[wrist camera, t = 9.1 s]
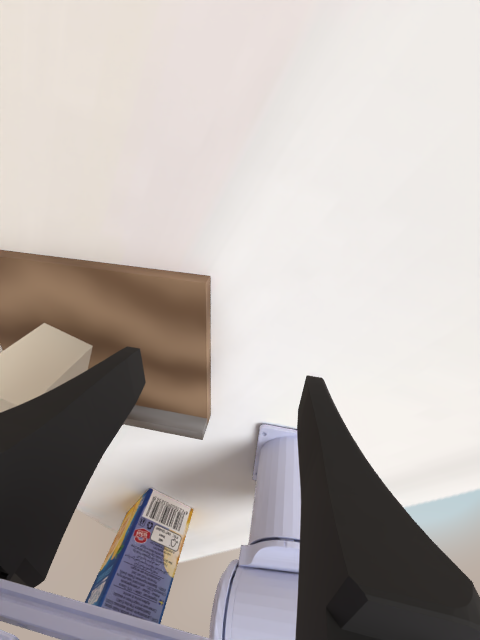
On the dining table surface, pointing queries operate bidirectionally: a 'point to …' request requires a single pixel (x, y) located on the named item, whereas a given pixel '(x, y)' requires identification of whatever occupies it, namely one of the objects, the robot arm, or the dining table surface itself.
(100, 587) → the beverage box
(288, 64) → the dining table surface
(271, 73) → the dining table surface
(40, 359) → the carton
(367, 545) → the robot arm
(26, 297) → the shelf board
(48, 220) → the dining table surface
